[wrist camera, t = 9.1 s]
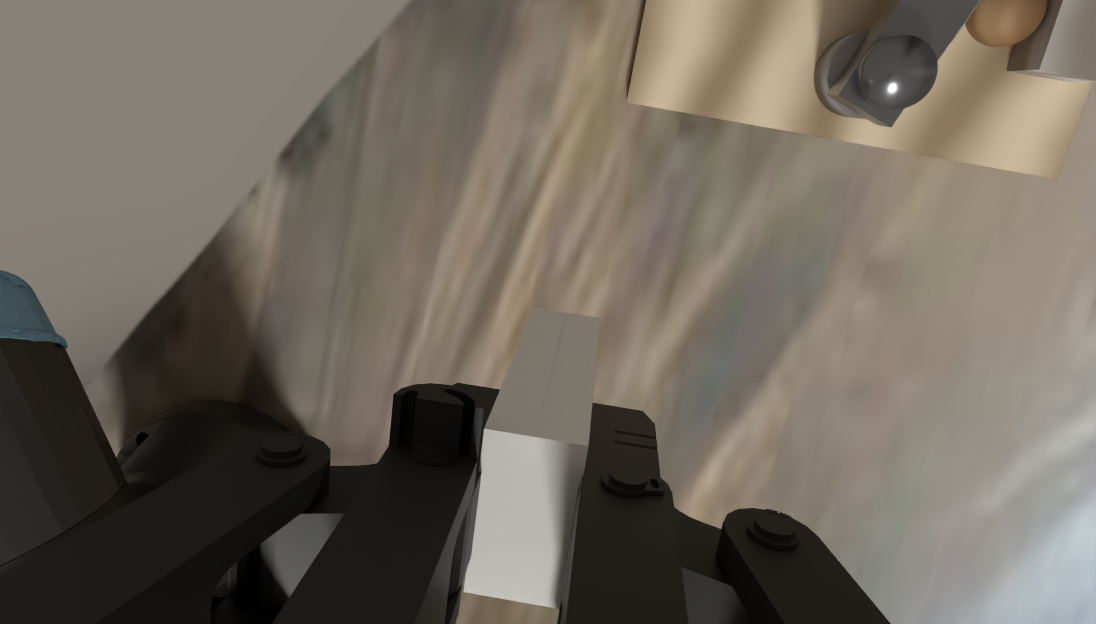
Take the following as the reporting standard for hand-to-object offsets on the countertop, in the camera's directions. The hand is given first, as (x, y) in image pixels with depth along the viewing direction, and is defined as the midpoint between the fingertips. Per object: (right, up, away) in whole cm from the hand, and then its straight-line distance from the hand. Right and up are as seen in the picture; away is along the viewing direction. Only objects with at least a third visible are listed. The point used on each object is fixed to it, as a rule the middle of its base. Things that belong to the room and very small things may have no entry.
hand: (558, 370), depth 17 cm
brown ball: (+22, +17, +23) cm, 36 cm away
